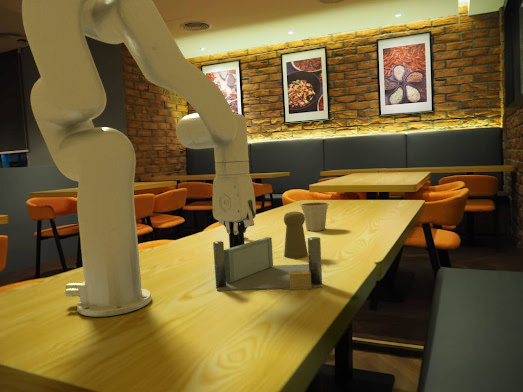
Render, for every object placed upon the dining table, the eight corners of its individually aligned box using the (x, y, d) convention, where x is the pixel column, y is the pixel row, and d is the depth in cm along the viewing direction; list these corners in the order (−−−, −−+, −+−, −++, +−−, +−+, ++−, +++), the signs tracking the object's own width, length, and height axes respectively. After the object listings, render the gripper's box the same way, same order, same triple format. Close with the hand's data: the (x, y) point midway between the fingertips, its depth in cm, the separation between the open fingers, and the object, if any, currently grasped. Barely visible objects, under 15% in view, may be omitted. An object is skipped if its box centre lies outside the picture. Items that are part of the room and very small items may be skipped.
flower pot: (297, 229, 143) (295, 203, 142) (322, 226, 146) (321, 201, 145) (308, 233, 134) (307, 206, 133) (335, 230, 137) (334, 203, 136)
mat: (217, 290, 81) (216, 289, 81) (228, 268, 97) (228, 267, 97) (321, 287, 80) (321, 285, 80) (316, 265, 96) (316, 263, 95)
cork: (306, 258, 102) (304, 213, 101) (282, 258, 103) (279, 214, 102) (309, 252, 108) (307, 210, 107) (285, 252, 109) (283, 210, 108)
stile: (290, 289, 79) (287, 242, 78) (290, 283, 83) (287, 238, 82) (323, 288, 79) (321, 241, 78) (321, 282, 83) (319, 236, 82)
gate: (230, 282, 84) (228, 250, 83) (225, 281, 85) (223, 250, 84) (273, 266, 95) (271, 237, 94) (268, 265, 96) (266, 237, 95)
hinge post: (215, 289, 82) (212, 243, 81) (217, 286, 84) (214, 241, 83) (225, 288, 82) (222, 243, 81) (227, 285, 84) (224, 241, 83)
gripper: (198, 171, 97) (203, 250, 99) (243, 170, 87) (248, 258, 89) (222, 169, 103) (227, 244, 104) (268, 168, 92) (272, 251, 94)
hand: (237, 250), depth 96 cm, fingers closed
